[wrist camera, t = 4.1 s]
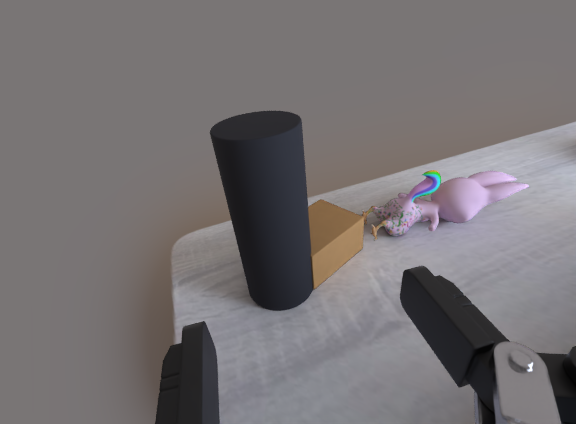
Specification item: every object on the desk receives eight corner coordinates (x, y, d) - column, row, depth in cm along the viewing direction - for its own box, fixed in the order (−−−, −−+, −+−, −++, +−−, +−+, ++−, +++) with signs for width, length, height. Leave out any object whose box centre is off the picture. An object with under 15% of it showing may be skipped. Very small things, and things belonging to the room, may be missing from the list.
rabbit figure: (382, 265, 27) (546, 214, 26) (376, 211, 23) (563, 152, 23) (358, 224, 32) (495, 182, 32) (350, 176, 29) (502, 128, 28)
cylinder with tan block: (278, 323, 21) (246, 147, 14) (236, 286, 24) (192, 129, 17) (364, 249, 27) (372, 96, 20) (320, 227, 30) (313, 89, 23)
